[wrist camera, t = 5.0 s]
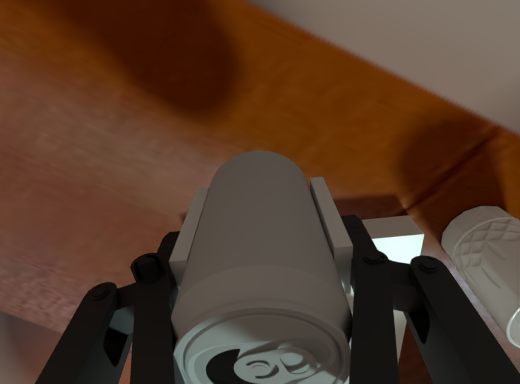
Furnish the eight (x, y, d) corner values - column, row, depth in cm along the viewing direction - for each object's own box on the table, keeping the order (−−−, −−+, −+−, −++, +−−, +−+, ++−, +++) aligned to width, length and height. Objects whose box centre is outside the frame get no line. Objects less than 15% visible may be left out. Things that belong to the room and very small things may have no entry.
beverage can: (193, 168, 19) (114, 340, 8) (287, 129, 18) (331, 272, 7) (236, 242, 22) (217, 440, 11) (320, 212, 21) (386, 402, 10)
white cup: (463, 191, 28) (560, 266, 19) (534, 209, 29) (656, 288, 20) (419, 254, 31) (484, 343, 23) (484, 269, 33) (569, 358, 24)
